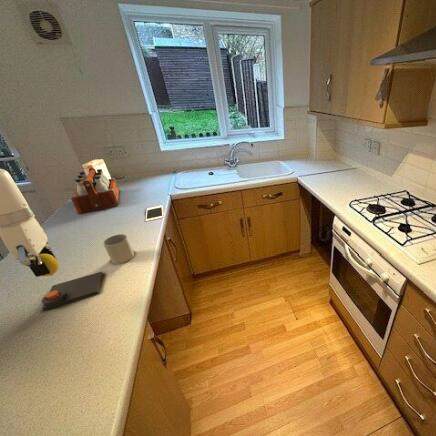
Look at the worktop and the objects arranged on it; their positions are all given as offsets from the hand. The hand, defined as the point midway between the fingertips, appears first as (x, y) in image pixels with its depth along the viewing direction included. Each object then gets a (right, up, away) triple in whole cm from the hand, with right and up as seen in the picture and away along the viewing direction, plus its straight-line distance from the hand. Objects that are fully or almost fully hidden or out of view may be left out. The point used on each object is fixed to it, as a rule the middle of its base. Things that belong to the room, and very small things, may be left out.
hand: (47, 267), depth 72 cm
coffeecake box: (-73, +40, +114) cm, 141 cm away
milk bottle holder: (-54, +26, +88) cm, 106 cm away
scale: (-4, -12, +15) cm, 19 cm away
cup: (+1, -3, +31) cm, 32 cm away
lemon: (0, -3, +2) cm, 3 cm away
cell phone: (-6, +18, +68) cm, 71 cm away
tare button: (-6, -12, +9) cm, 16 cm away
